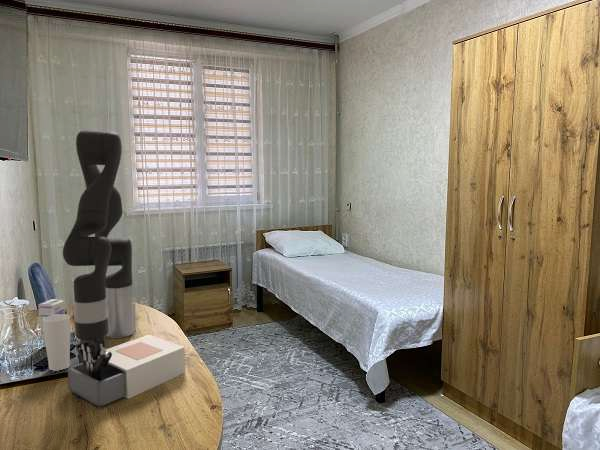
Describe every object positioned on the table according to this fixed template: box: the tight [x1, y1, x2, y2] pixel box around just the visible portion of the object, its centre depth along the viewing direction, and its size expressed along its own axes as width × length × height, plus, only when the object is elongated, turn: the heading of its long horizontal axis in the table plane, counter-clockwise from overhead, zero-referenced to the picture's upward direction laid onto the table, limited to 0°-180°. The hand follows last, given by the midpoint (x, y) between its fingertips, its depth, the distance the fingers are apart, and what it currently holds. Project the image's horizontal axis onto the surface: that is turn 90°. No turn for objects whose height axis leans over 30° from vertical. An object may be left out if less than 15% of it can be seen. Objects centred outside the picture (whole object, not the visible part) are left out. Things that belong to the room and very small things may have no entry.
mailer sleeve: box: [105, 334, 186, 399], centre depth 124 cm, size 18×16×8 cm
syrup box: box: [37, 298, 68, 347], centre depth 145 cm, size 6×6×14 cm
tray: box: [66, 362, 127, 408], centre depth 118 cm, size 18×14×6 cm
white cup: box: [43, 313, 71, 372], centre depth 129 cm, size 7×7×15 cm
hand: (95, 383), depth 114 cm, fingers closed
